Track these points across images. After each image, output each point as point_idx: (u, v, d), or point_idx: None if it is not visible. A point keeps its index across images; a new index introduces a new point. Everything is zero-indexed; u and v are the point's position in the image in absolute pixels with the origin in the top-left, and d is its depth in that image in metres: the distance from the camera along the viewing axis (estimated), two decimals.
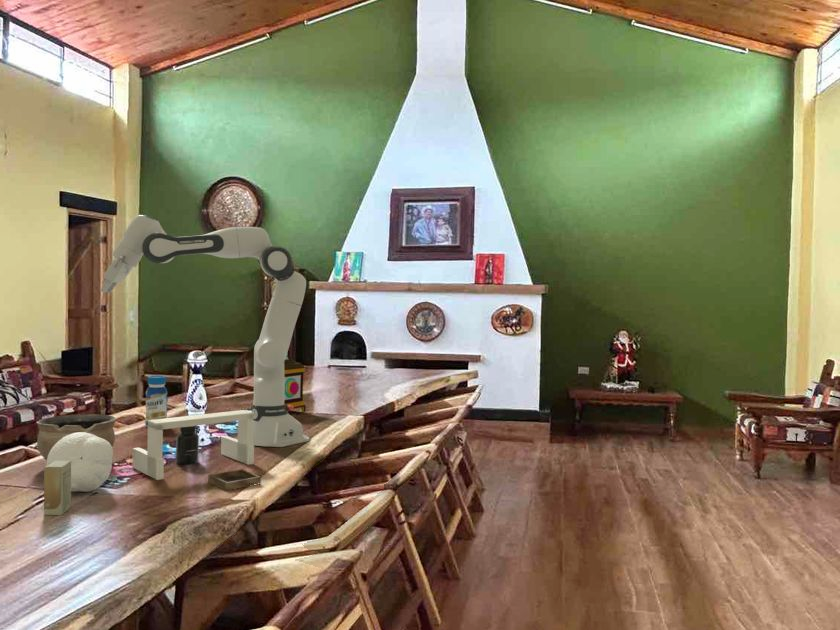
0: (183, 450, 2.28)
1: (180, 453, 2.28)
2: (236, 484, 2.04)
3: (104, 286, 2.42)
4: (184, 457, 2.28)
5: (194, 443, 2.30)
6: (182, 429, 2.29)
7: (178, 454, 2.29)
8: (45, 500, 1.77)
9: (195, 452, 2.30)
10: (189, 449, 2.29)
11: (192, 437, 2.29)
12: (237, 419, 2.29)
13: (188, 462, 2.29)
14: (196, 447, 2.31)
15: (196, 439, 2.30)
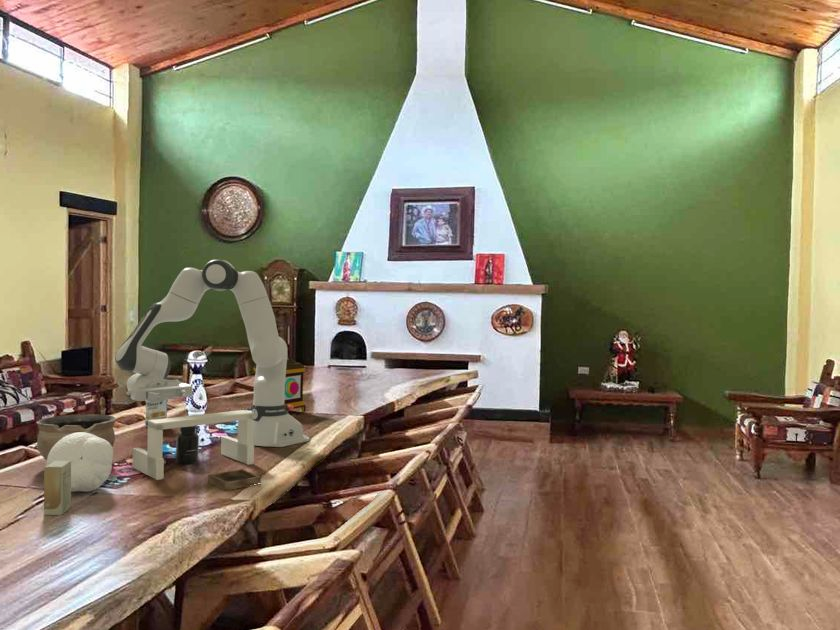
0: (183, 450, 2.28)
1: (180, 453, 2.28)
2: (236, 484, 2.04)
3: (153, 397, 2.38)
4: (184, 457, 2.28)
5: (194, 443, 2.30)
6: (182, 429, 2.29)
7: (178, 454, 2.29)
8: (45, 500, 1.77)
9: (195, 452, 2.30)
10: (189, 449, 2.29)
11: (192, 437, 2.29)
12: (237, 419, 2.29)
13: (188, 462, 2.29)
14: (196, 447, 2.31)
15: (196, 439, 2.30)
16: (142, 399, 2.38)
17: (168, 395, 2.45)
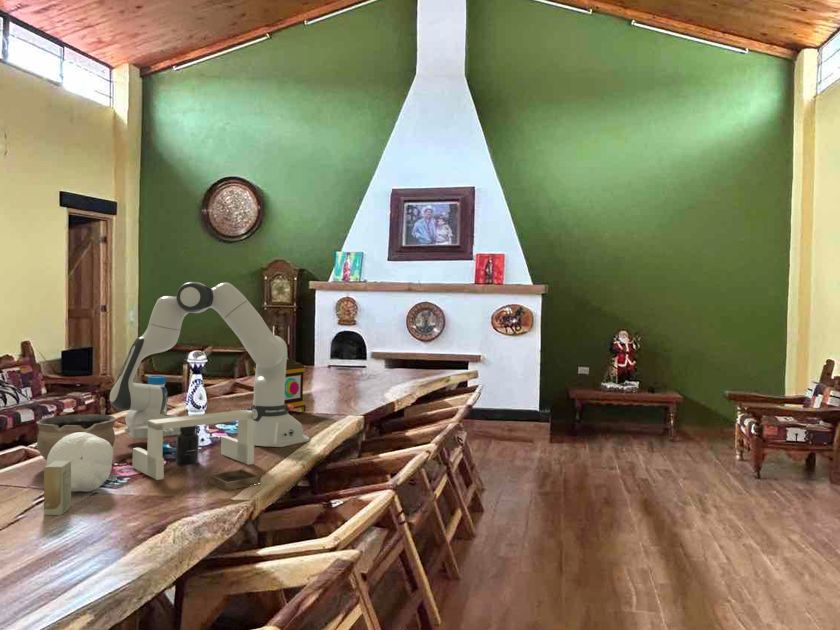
0: (183, 450, 2.28)
1: (180, 453, 2.28)
2: (236, 484, 2.04)
3: None
4: (184, 457, 2.28)
5: (194, 443, 2.30)
6: (182, 429, 2.29)
7: (178, 454, 2.29)
8: (45, 500, 1.77)
9: (195, 452, 2.30)
10: (189, 449, 2.29)
11: (192, 437, 2.29)
12: (237, 419, 2.29)
13: (188, 462, 2.29)
14: (196, 447, 2.31)
15: (196, 439, 2.30)
16: (140, 437, 2.38)
17: None
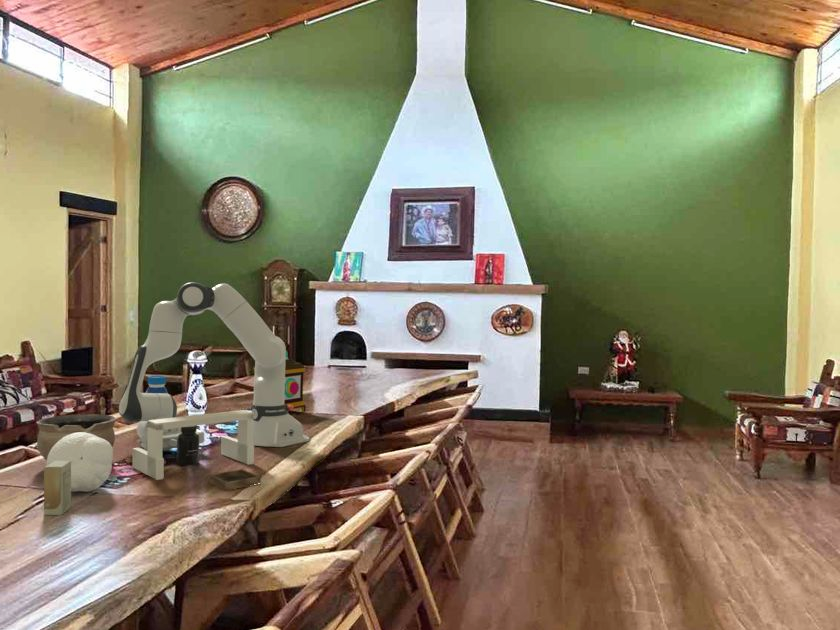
0: (184, 451, 2.28)
1: (181, 454, 2.28)
2: (236, 484, 2.04)
3: (176, 444, 2.34)
4: (184, 458, 2.28)
5: (195, 444, 2.29)
6: (183, 429, 2.29)
7: (179, 454, 2.28)
8: (45, 500, 1.77)
9: (196, 453, 2.30)
10: (190, 449, 2.28)
11: (193, 437, 2.29)
12: (237, 419, 2.29)
13: (189, 462, 2.28)
14: (197, 447, 2.30)
15: (197, 439, 2.30)
16: None
17: None
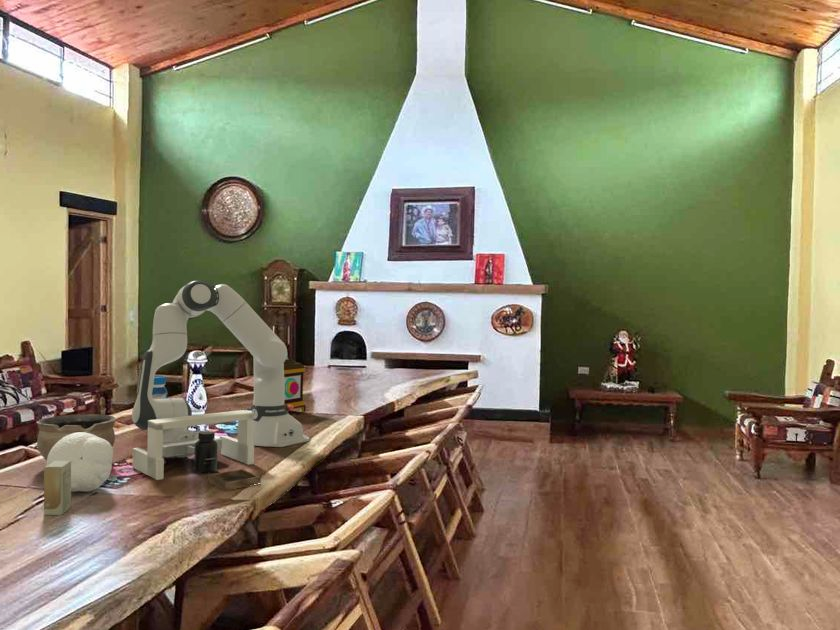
0: (201, 459, 2.18)
1: (198, 462, 2.19)
2: (236, 484, 2.04)
3: (193, 451, 2.25)
4: (202, 466, 2.18)
5: (213, 451, 2.20)
6: (200, 436, 2.20)
7: (196, 462, 2.19)
8: (45, 500, 1.77)
9: (214, 461, 2.20)
10: (207, 457, 2.19)
11: (211, 445, 2.19)
12: (237, 419, 2.29)
13: (206, 471, 2.19)
14: (215, 455, 2.21)
15: (215, 447, 2.20)
16: (170, 455, 2.22)
17: None
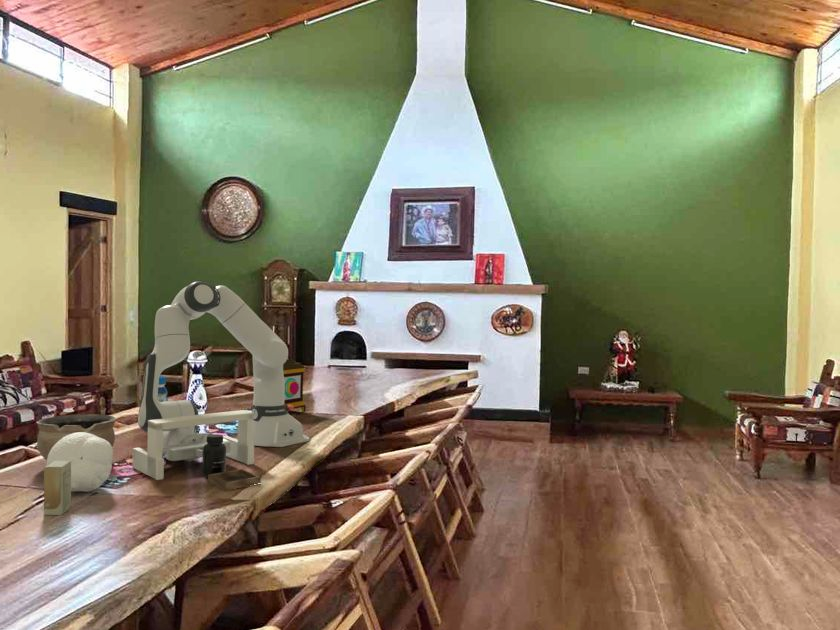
0: (209, 462, 2.15)
1: (207, 465, 2.15)
2: (236, 484, 2.04)
3: (201, 455, 2.21)
4: (210, 470, 2.15)
5: (221, 455, 2.16)
6: (209, 439, 2.16)
7: (204, 466, 2.15)
8: (45, 500, 1.77)
9: (223, 464, 2.17)
10: (216, 461, 2.15)
11: (219, 448, 2.15)
12: (237, 419, 2.29)
13: None
14: (223, 459, 2.17)
15: (223, 450, 2.17)
16: (178, 459, 2.19)
17: None
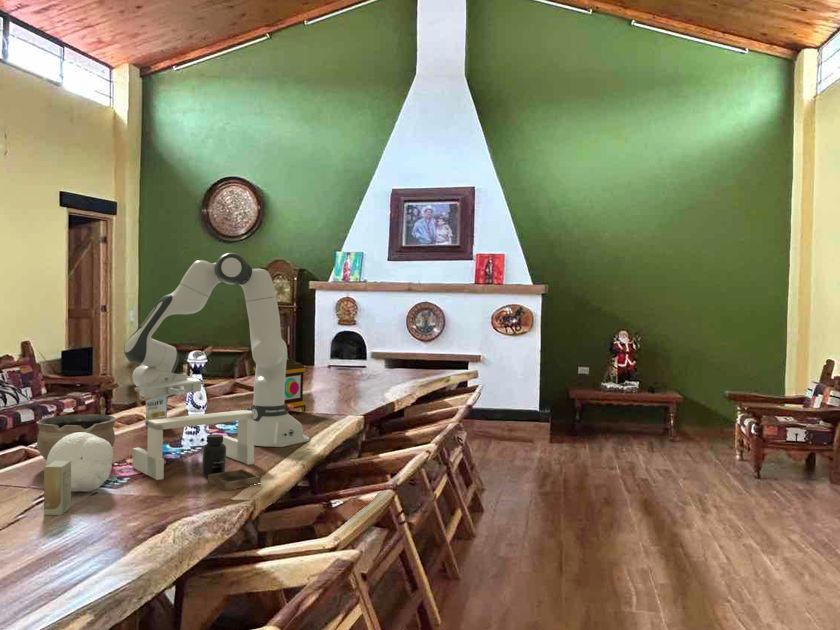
0: (209, 462, 2.15)
1: (207, 465, 2.15)
2: (236, 484, 2.04)
3: (174, 393, 2.37)
4: (210, 470, 2.15)
5: (221, 455, 2.16)
6: (209, 439, 2.16)
7: (204, 466, 2.15)
8: (45, 500, 1.77)
9: (223, 464, 2.17)
10: (216, 461, 2.15)
11: (219, 448, 2.15)
12: (237, 419, 2.29)
13: None
14: (223, 459, 2.17)
15: (223, 450, 2.17)
16: (151, 396, 2.34)
17: None
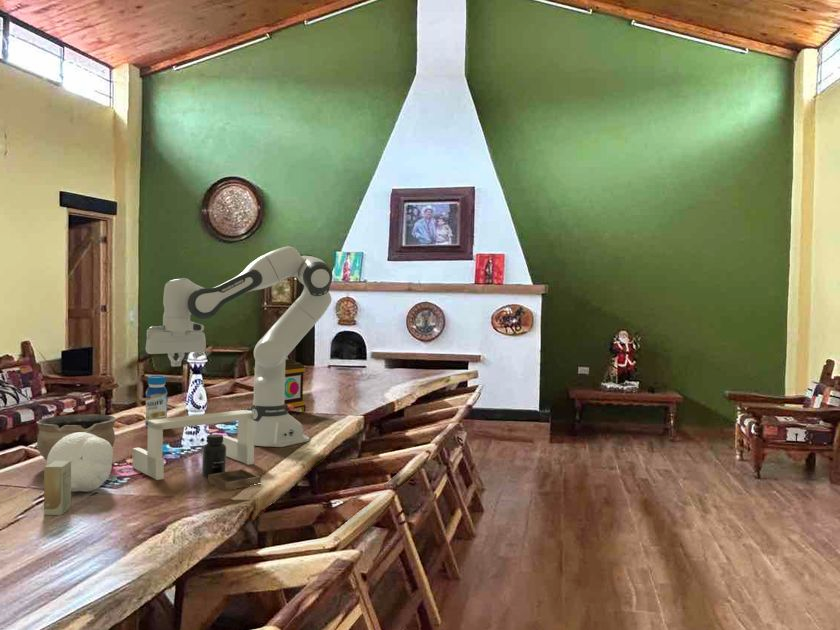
0: (209, 462, 2.15)
1: (207, 465, 2.15)
2: (236, 484, 2.04)
3: (171, 360, 2.46)
4: (210, 470, 2.15)
5: (221, 455, 2.16)
6: (209, 439, 2.16)
7: (204, 466, 2.15)
8: (45, 500, 1.77)
9: (223, 464, 2.17)
10: (216, 461, 2.15)
11: (219, 448, 2.15)
12: (237, 419, 2.29)
13: None
14: (223, 459, 2.17)
15: (223, 450, 2.17)
16: None
17: None
